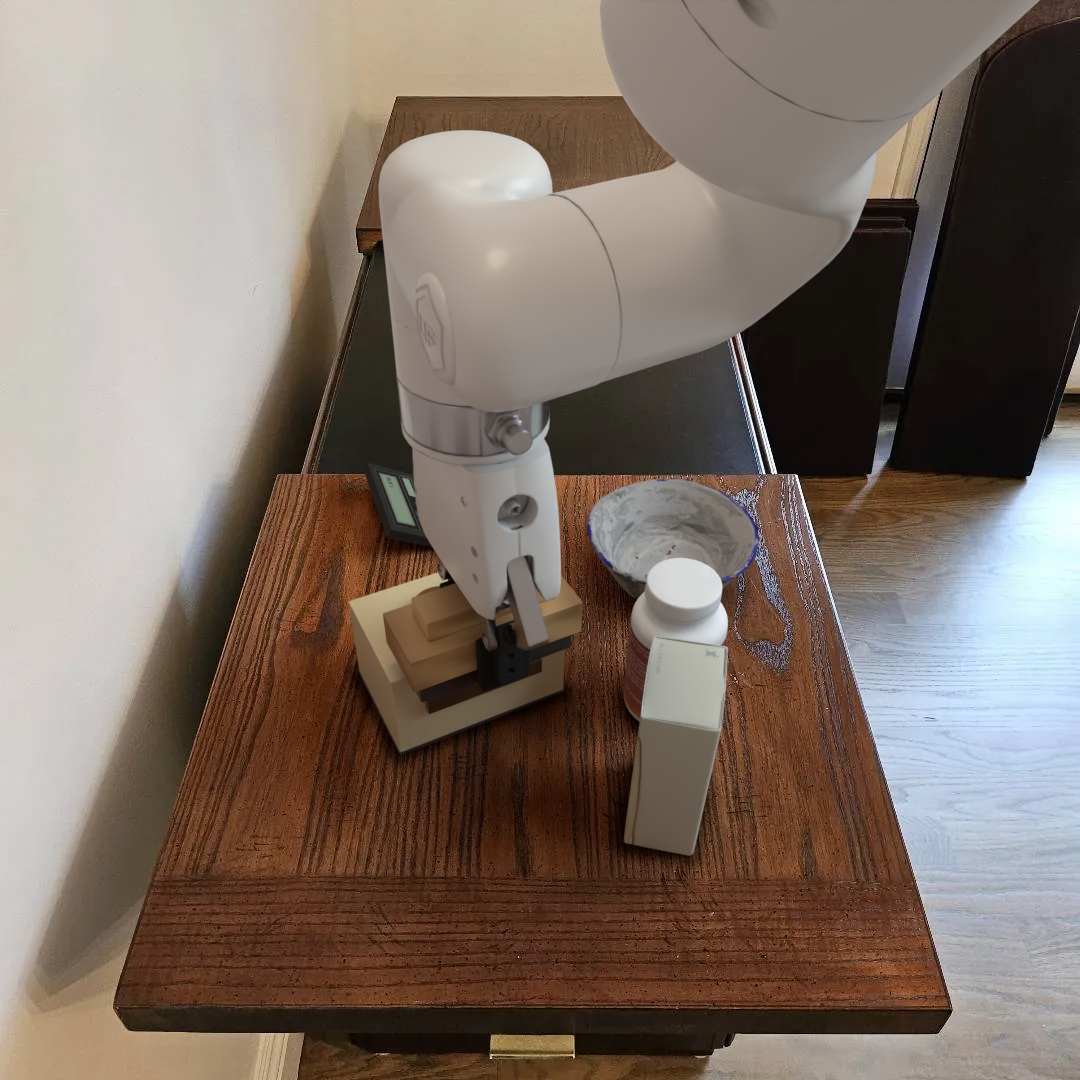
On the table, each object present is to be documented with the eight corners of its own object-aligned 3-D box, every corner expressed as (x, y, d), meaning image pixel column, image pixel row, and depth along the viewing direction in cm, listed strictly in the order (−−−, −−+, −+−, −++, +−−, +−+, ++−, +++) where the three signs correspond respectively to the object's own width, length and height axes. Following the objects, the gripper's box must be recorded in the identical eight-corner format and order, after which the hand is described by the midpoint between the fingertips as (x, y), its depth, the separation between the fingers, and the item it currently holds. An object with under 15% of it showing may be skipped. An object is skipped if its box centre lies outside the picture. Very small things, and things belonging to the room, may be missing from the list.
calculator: (528, 530, 82) (528, 501, 80) (389, 559, 79) (386, 530, 77) (495, 466, 89) (494, 439, 87) (366, 491, 86) (362, 463, 84)
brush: (547, 603, 65) (548, 539, 62) (580, 648, 62) (583, 583, 58) (388, 659, 61) (379, 594, 58) (415, 710, 58) (408, 644, 55)
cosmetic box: (636, 763, 64) (650, 631, 56) (705, 775, 64) (729, 642, 56) (622, 847, 60) (636, 715, 52) (696, 861, 59) (722, 730, 51)
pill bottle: (663, 751, 65) (679, 632, 58) (604, 693, 69) (613, 573, 62) (732, 709, 68) (756, 590, 61) (672, 655, 72) (688, 536, 65)
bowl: (783, 605, 76) (793, 557, 72) (630, 652, 72) (634, 603, 69) (699, 507, 85) (705, 461, 82) (560, 544, 81) (561, 496, 78)
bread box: (568, 697, 69) (570, 625, 64) (403, 762, 64) (393, 690, 60) (513, 618, 74) (512, 547, 70) (358, 672, 70) (346, 600, 66)
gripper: (626, 468, 45) (606, 726, 57) (474, 312, 57) (483, 554, 69) (475, 514, 43) (487, 775, 54) (347, 340, 54) (380, 587, 66)
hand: (485, 649), depth 61 cm, fingers closed on brush, 4 cm apart
